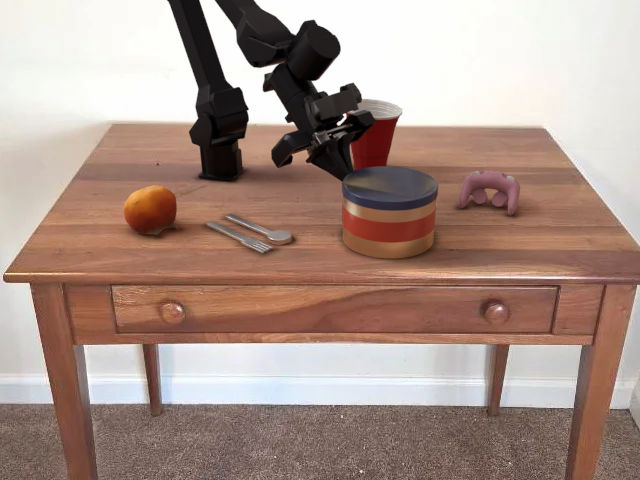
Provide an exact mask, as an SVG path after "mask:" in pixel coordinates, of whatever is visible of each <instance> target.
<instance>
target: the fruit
mask: <svg viewBox="0 0 640 480" xmlns="http://www.w3.org/2000/svg"><path fill="white" fill-rule="evenodd" d="M177 205H178V204H177V197H176V195H175V194H174V193H173V192H172V190H170V189H169V188H167V187H166V186H164V185H157V184H153V185H149V186H145V187H143V188H139V189H138V190H136V191H133V192H132V193H131V194H130V195H129V197H128V198H127V200H126V201H125V202H124V204H123V209H122V212H123V214H124V219H125V222H126V224H128V225H129V227H130V229H132V230H133V231H135V232H136V233H138V234H141V235H154V236H157V237H159V234H160V233H161V232H162V230H164V229H169V228H175V229H176V230H179V228H178V226H176V225H175V222H176V218H177V213H178V212H177V210H178V208H177V207H178V206H177Z"/></svg>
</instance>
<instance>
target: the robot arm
mask: <svg viewBox="0 0 640 480" xmlns="http://www.w3.org/2000/svg"><path fill="white" fill-rule="evenodd" d="M166 1H167V3H168V4H169V6H170V10H171V13H172V16H173V18H174V21H175V24H176V27H177V30H178V33H179V36H180V39H181V42H182V44H183V48H184V51H185V54H186V56H187V59H188V62H189V66H190V68H191V71H192V75H193V77H194V80H195V83H196V86H197V95H196V100H195V105H194V107H195V108H194V109H195V113H196V116H197V119H196V121H194V124H193V125H192V126H191V128H190V129H189V131H188V134H189V135H188V136H189V137H190V141H191V144H193V145H195V146H198V147H199V155H200V163H201V164H200V165H201V172H200V173H198V178H200V179H208V180H216V181H217V180H218V181H224V182H225V181H226V182H232V181H234V180H235V178H236V177H238V176H239V175H240V174H241V173H242V172H243V171H244V170H245V169H244V166H243V155H242V148H239V140H244V139H246V133H247V129H248V123H249V121H250V115H249V112H248V111H249V110H250V108H249V106H248V105H247V103H246V101H245V100H246V99H245V96H244V92H243V90H242V89H241V87H240V86H236V87H234V86H232V85H231V84H230V82H229V81H228V80H227V79H226V76H225V73H224V70H223V67H222V64H221V60H220V58H219V55H218V52H217V48H216V46H215V43H214V40H213V37H212V34H211V31H210V28H209V25H208V22H207V18H206V16H205V12H204V10H203V6H202V4H201V1H200V0H166ZM214 2H215V3H216V5H217V6H218V7H219V8H220V10H221V11H222V12H223V14H224V15H225V17H226V18H227V19H228V21H229V22H230V23H231V25H232V26H233V28H234V30H235V37H236V38H235V39H236V44H237V46H238V48H239V50H240V51H241V53H242V55H243V57H244V59H245V60H246V61H247V63H248V64H249V65H250V66H251V67H253V68H254V69H255V68H256V69H262V68H266V67H270V66H275V67H273V68H274V69H273V70H272V71H271V72H267V73H264V75H263V78H264V79H263V83H262V92H263V93H269V92H272V91H274V93H275V95H276V96H277V97H278V99H279V101H280V103H281V104H282V106H283V108H284V109H285V111H286V112H287V115H285V116H284V119H285V121H286V123H287V124H291V123H293V124H294V125H295V127H296V129H297V130H294V131H290V132H287V133H284V134H283V135H282V137H281V138H280V139H279V140H278V141H277V142H276V144H275V145H274V146H273V148H272V149H271V150H270V151H271V152H270V154H271V155H270V157H271V161H272V162H273V164H274V165H275V167H276V168H277V169H281V168H284V167H287V166H290V165H291V164H292V163H293V160H294V156H293V155H295V154H298V153H300V152H304V151H306V152H307V153H306V154H307V155H308V156H307V158H306V159H305V163H306V164H312V165H313V166H315V167H317V168H319V169H320V170H322V171H325V173H328V174H329V175H331V176H333V177H334V178H336V179H337V180H338V181H340V182H342V180H343V178H344V177H345V176H346V175H348V174H349V173H351V172H354V171H355V168H354V164H353V161H352V160H353V159H352V155H351V143H354V142H356V141H358V140H359V139H360V138H361V137H362V136H363V135H364V134H365V133H366V132H367V131H368V130H369V129H370V128H371V127H372V126H373V125H374V124H375V123H376V120H375V118H374V117H373V115H372V114H371V112H370V111H367V110H362V111H359V112H355V113H352V114H350V115H349V116H348V117H347V118H345V116H344V115H346V113H347V112H349V111H352V110H353V111H356V110H359V108H358V103H361V101H362V99H363V97H362V93H361V90H360V89H359V88H358V86H357V85H356V84H355V82H350V83H347V84H344V85H341V86H340V87H339V91H338V92H335V93H332V94H329V93H328V92H326V91H325V90H322V91H319V90H318V89H317V88H316V85H315V84H314V82H317V81H318V80H320V79H321V78H322V76H323V75H324V74H325V73H326V71H327V70H328V69H329V68H330V67H331V65H332V64H333V63H334V62H335V61H336V60H337V58H339V56H340V54H341V52H342V48H341V42H340V40H339V38H338V37H337V36H336V34H333V33H332V32H331V31H330V30H329V29H327V28H326V27H324V26H321V25H318V23H317V21H316V19H308V20H304V21H303V22H302V23H301V25H300V27H299V29H298V32H296V34H294V33H293V32H292V31H291V30H290V29H289V28H288V27H287V26H286V24H284V22H283V21H282V20H281V19H280V18H278V17H277V16H276V15H274V14H273V13H270V12H269V11H266V10H264V9H263V8H262V7H261V6H260V5H259V4H258V3H257V2H256V1H255V0H214ZM344 118H345V119H344ZM339 122H341V123H340V124H339V125H338V123H339Z"/></svg>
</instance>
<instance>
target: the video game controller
mask: <svg viewBox="0 0 640 480" xmlns="http://www.w3.org/2000/svg"><path fill="white" fill-rule="evenodd" d="M486 190H495V191H496V192H495V193H494V194H493V195H492V197H491V202H492V205H493V206H494V207H496V208H502V207H504V206H505V205H506V203H507V214H508V216H513V215H514V214H515V212H516V210H517V207H518V203H519V199H520V193H521V192H520V191H521V184H520V183H519V181H518V180H517V179H516V178H514V177H513V176H511V175H509V174H507V173H504V172H500V171H496V170H481V171H480V170H479V171H473V172H471V173H469V174H468V175H467V176H466V177H465V178H464V180H463V182H462V185H461V188H460V191H459V195H458V202H457V203H458V207H459V209H463V208H464V207H466V205H467V203H468V202H469V200H470V197H471V196H472V198H473V201H474V202H475V203H476V204H478V205H484V204H486V202H487V201H488V194H487V192H486Z"/></svg>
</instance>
